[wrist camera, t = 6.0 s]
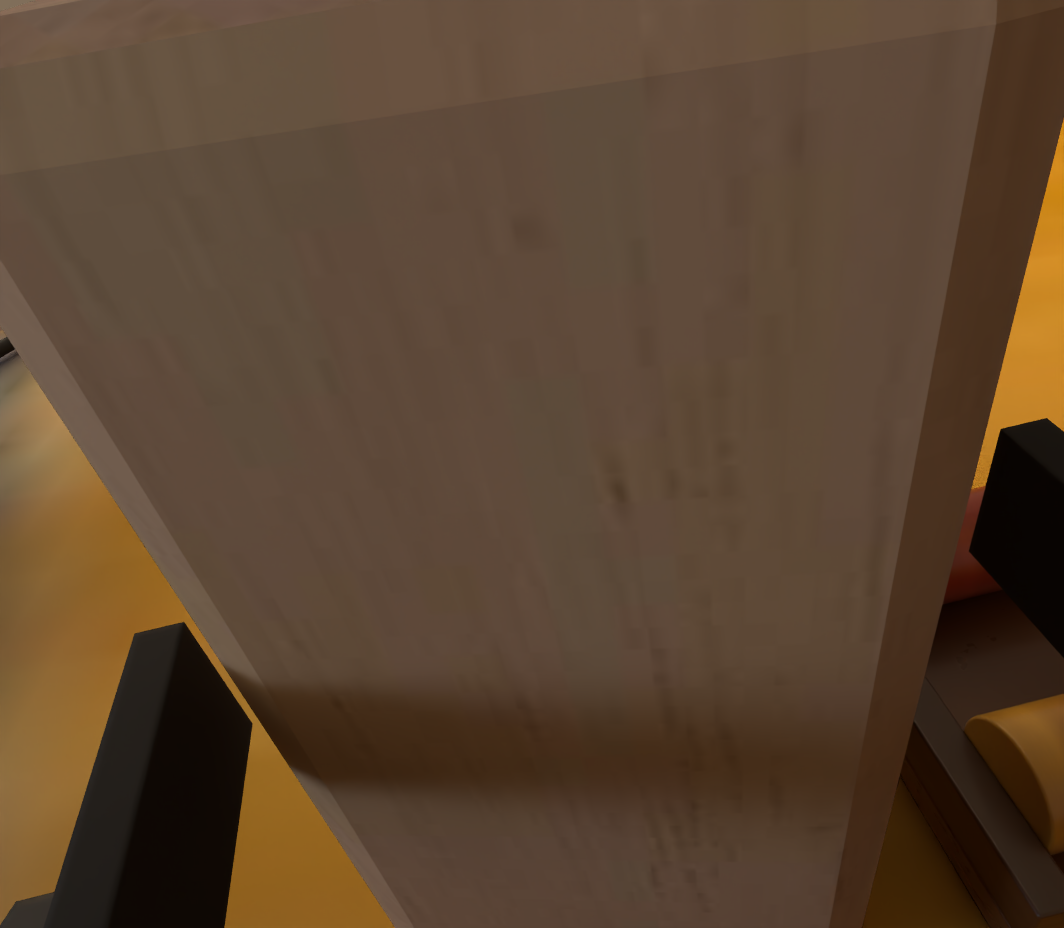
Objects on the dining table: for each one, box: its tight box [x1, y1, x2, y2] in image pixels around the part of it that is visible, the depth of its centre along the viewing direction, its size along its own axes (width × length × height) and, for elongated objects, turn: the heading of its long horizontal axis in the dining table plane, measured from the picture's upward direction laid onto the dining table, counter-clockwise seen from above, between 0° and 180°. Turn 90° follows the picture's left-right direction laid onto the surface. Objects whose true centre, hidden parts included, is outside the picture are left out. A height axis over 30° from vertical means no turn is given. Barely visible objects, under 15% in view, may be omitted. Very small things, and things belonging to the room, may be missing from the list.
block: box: [0, 0, 1064, 928], centre depth 15 cm, size 10×10×20 cm
